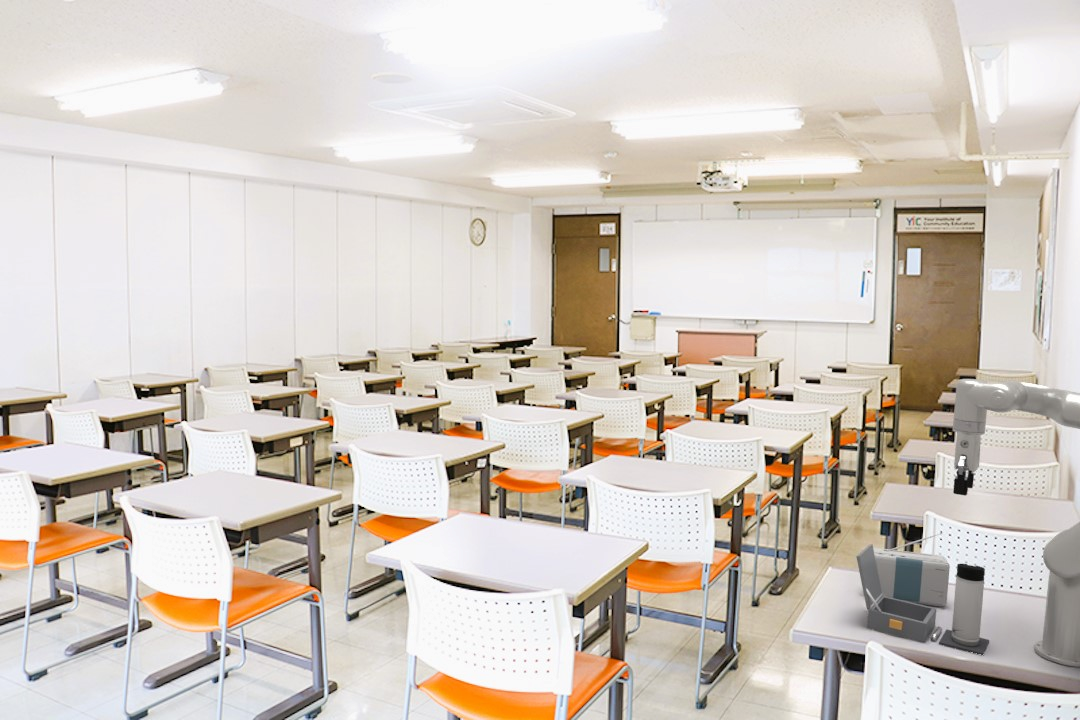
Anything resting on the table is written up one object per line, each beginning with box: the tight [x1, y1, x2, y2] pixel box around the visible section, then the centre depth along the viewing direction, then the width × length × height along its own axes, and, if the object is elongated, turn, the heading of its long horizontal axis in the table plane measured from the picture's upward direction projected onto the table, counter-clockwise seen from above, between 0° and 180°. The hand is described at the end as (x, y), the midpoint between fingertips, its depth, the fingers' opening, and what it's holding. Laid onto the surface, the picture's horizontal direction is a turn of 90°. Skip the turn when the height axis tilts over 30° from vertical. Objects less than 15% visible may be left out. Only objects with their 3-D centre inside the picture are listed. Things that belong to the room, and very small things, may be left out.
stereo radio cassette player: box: [873, 532, 951, 608], centre depth 241 cm, size 21×8×20 cm, turn 73°
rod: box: [930, 626, 943, 642], centre depth 218 cm, size 1×9×1 cm, turn 145°
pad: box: [938, 628, 990, 656], centre depth 214 cm, size 10×10×1 cm
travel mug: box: [951, 563, 986, 646], centre depth 212 cm, size 6×7×20 cm
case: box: [855, 543, 937, 644], centre depth 222 cm, size 18×14×19 cm
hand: (963, 490), depth 222 cm, fingers open, 9 cm apart
